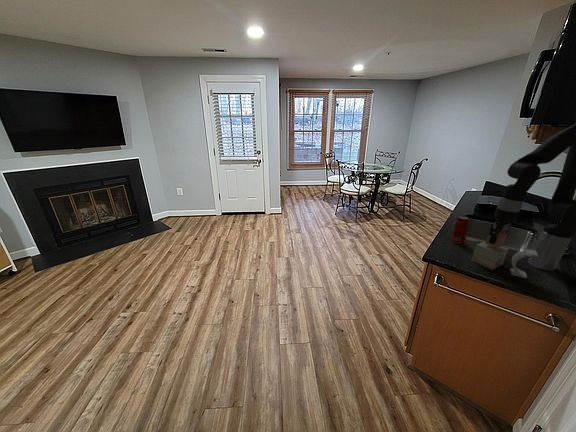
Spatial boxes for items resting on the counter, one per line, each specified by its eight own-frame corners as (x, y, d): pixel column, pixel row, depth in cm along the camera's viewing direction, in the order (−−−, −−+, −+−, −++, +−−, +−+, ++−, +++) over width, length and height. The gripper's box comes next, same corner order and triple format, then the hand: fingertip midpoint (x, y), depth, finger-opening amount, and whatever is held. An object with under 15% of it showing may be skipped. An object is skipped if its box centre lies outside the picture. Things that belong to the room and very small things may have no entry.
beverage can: (465, 244, 130) (474, 220, 125) (452, 243, 131) (460, 218, 126) (460, 239, 136) (468, 215, 130) (448, 238, 137) (455, 214, 131)
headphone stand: (526, 278, 103) (538, 255, 98) (508, 273, 106) (519, 250, 101) (524, 273, 106) (535, 250, 101) (507, 268, 109) (517, 246, 105)
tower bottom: (480, 256, 120) (483, 248, 118) (501, 265, 112) (505, 257, 110) (470, 260, 116) (473, 252, 114) (491, 270, 108) (495, 262, 107)
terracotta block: (490, 241, 113) (494, 229, 111) (502, 246, 109) (507, 233, 107) (484, 243, 111) (489, 231, 109) (497, 248, 107) (502, 235, 105)
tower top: (483, 248, 118) (486, 240, 116) (505, 257, 111) (508, 249, 109) (473, 252, 114) (476, 244, 113) (495, 261, 107) (498, 253, 105)
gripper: (511, 213, 97) (496, 249, 104) (526, 208, 103) (511, 242, 110) (490, 207, 103) (477, 241, 110) (506, 203, 110) (493, 236, 116)
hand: (494, 242), depth 110 cm, fingers closed on terracotta block, 5 cm apart
